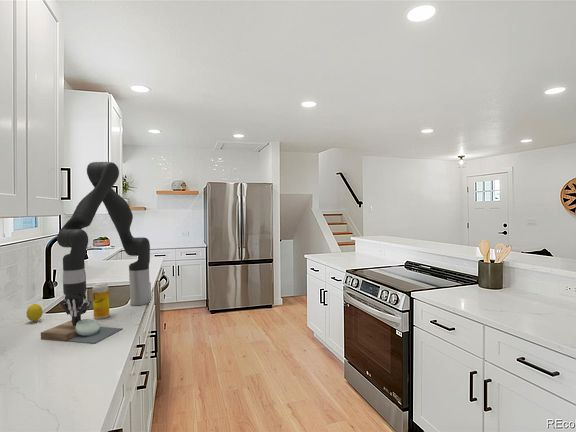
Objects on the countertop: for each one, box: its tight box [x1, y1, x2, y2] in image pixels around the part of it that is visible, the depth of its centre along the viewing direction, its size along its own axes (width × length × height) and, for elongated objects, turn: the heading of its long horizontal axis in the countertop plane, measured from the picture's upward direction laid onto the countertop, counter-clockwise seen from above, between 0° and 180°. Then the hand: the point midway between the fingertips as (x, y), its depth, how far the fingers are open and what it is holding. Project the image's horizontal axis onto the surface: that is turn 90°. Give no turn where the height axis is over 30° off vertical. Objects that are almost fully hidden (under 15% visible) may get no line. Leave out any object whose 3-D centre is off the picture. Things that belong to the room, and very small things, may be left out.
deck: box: [40, 319, 79, 342], centre depth 129 cm, size 14×12×2 cm
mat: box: [67, 326, 124, 345], centre depth 127 cm, size 14×12×1 cm
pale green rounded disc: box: [75, 318, 101, 336], centre depth 127 cm, size 8×8×2 cm
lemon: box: [26, 303, 44, 323], centre depth 143 cm, size 6×6×8 cm
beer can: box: [92, 281, 110, 320], centre depth 147 cm, size 6×6×15 cm
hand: (76, 325), depth 128 cm, fingers closed
